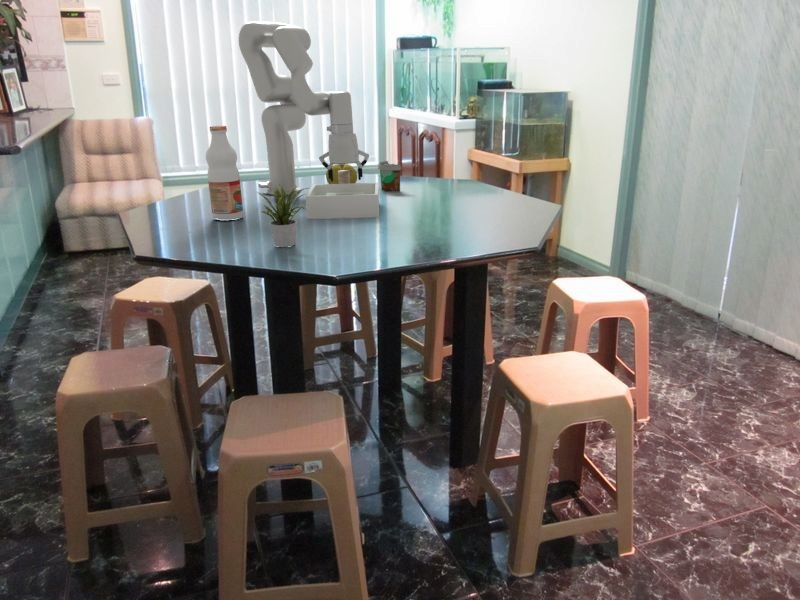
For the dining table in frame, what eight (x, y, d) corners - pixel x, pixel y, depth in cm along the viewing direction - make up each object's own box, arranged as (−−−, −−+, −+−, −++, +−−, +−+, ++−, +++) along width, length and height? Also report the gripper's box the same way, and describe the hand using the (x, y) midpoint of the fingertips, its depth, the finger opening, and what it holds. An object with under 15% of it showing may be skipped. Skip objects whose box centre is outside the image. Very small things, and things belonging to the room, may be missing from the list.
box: (307, 219, 199) (305, 196, 197) (314, 205, 220) (312, 184, 217) (378, 217, 199) (378, 194, 197) (379, 203, 220) (378, 182, 218)
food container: (373, 188, 249) (372, 161, 246) (388, 186, 251) (387, 160, 248) (386, 193, 238) (385, 165, 235) (401, 191, 241) (401, 164, 237)
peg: (339, 200, 227) (337, 171, 223) (339, 198, 230) (338, 170, 227) (350, 200, 227) (349, 171, 223) (351, 198, 230) (349, 169, 227)
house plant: (328, 244, 169) (324, 181, 164) (286, 256, 160) (280, 189, 154) (293, 236, 178) (288, 177, 173) (251, 247, 169) (245, 184, 163)
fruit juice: (211, 217, 205) (200, 126, 196) (241, 214, 208) (232, 124, 199) (214, 223, 197) (202, 128, 187) (245, 220, 200) (236, 126, 190)
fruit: (329, 188, 252) (327, 161, 249) (359, 187, 251) (358, 161, 248) (325, 193, 241) (323, 166, 238) (356, 192, 241) (355, 165, 238)
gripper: (315, 131, 217) (320, 183, 222) (367, 129, 217) (370, 180, 222) (317, 130, 224) (322, 180, 229) (367, 127, 224) (370, 177, 229)
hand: (345, 180), depth 226 cm, fingers open, 9 cm apart
